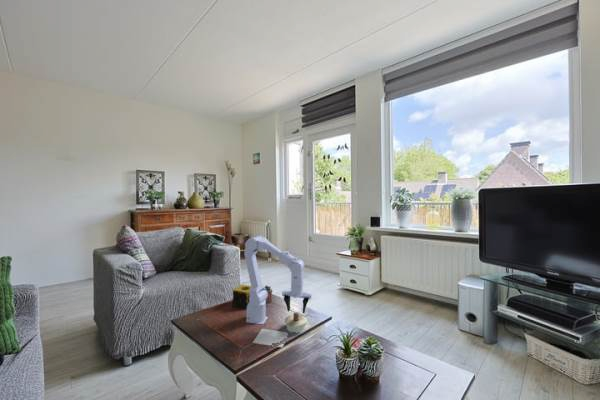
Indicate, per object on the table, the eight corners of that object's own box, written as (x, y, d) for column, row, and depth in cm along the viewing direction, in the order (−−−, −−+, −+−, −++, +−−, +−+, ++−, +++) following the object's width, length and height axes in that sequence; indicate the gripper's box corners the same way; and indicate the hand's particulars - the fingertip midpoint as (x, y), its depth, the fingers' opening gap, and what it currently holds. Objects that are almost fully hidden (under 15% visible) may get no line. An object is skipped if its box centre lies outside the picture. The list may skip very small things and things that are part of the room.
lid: (281, 324, 128) (281, 317, 128) (288, 314, 139) (289, 307, 138) (303, 328, 125) (304, 320, 125) (309, 317, 136) (309, 310, 135)
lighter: (272, 301, 163) (272, 285, 163) (271, 303, 160) (271, 287, 159) (259, 300, 164) (260, 284, 164) (258, 302, 161) (258, 286, 160)
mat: (252, 343, 119) (252, 342, 119) (262, 329, 131) (262, 328, 131) (282, 348, 116) (282, 347, 116) (289, 333, 128) (289, 332, 128)
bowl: (284, 332, 129) (284, 324, 129) (289, 322, 138) (289, 315, 137) (303, 334, 127) (303, 326, 127) (306, 325, 136) (306, 317, 136)
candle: (231, 306, 155) (231, 290, 154) (241, 300, 164) (241, 284, 164) (246, 310, 151) (247, 292, 151) (255, 302, 161) (256, 286, 160)
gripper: (280, 285, 129) (279, 313, 130) (309, 289, 126) (309, 317, 126) (284, 280, 136) (283, 306, 136) (312, 283, 133) (311, 310, 133)
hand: (296, 311), depth 132 cm, fingers open, 7 cm apart
